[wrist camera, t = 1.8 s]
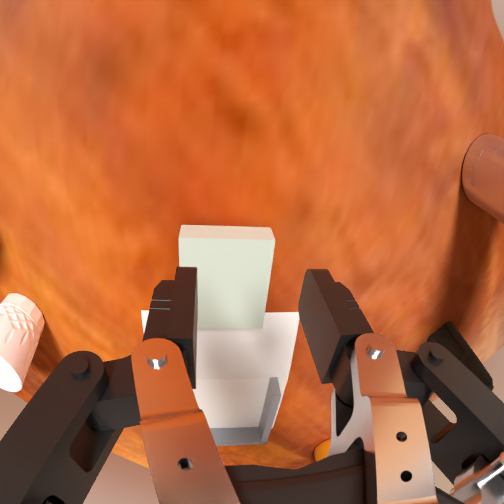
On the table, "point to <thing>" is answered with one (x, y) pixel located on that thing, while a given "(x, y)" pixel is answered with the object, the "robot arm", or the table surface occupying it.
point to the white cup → (18, 339)
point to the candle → (461, 351)
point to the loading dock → (243, 377)
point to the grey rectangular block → (229, 273)
